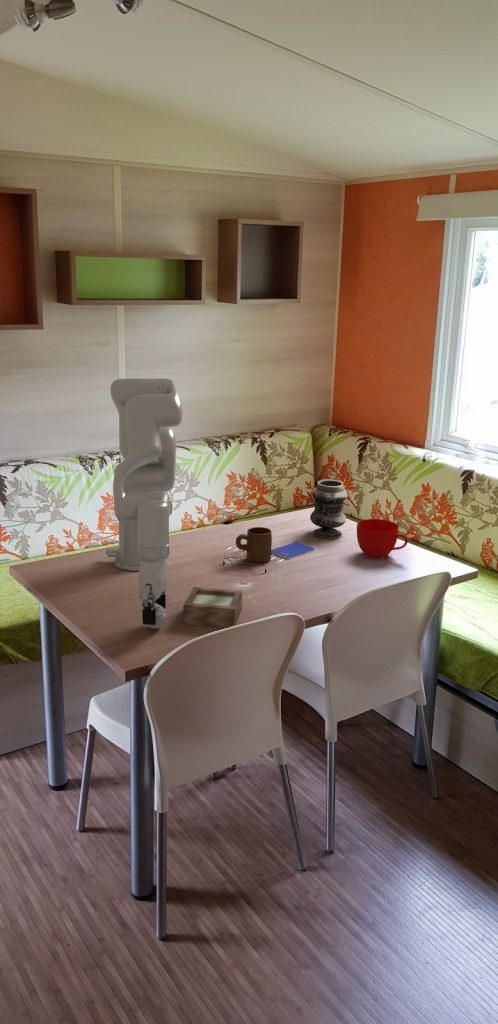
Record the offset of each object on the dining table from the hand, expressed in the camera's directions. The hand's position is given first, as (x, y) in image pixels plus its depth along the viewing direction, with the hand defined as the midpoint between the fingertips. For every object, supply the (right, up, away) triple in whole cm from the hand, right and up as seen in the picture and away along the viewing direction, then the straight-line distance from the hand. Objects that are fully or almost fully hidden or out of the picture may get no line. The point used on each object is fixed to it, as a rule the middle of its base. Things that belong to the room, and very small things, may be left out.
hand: (154, 616), depth 208 cm
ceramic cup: (+65, +12, +55) cm, 86 cm away
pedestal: (+14, -1, +9) cm, 17 cm away
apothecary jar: (+50, +18, +76) cm, 93 cm away
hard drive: (+37, +13, +58) cm, 70 cm away
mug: (+24, +11, +49) cm, 56 cm away
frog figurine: (0, -3, +1) cm, 4 cm away
